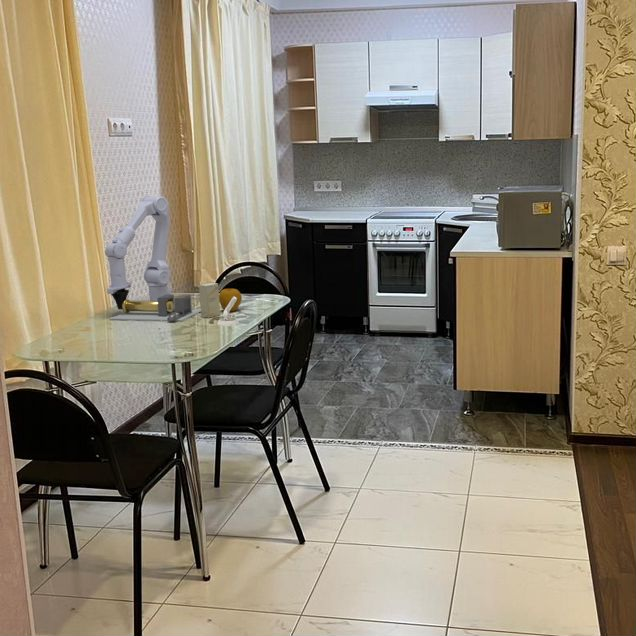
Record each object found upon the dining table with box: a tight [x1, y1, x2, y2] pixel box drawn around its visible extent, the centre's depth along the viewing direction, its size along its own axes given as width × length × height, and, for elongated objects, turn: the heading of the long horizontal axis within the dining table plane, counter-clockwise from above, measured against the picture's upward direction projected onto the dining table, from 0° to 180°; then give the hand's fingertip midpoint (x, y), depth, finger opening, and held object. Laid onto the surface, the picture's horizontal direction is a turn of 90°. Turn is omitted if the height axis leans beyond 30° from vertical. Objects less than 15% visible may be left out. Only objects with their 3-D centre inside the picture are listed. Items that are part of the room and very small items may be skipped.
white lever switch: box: [217, 296, 240, 327], centre depth 293 cm, size 8×12×7 cm
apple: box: [219, 288, 243, 313], centre depth 316 cm, size 8×8×9 cm
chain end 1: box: [157, 293, 175, 317], centre depth 316 cm, size 15×3×7 cm, turn 163°
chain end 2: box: [167, 294, 193, 322], centre depth 307 cm, size 15×3×7 cm, turn 163°
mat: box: [108, 309, 201, 322], centre depth 314 cm, size 18×30×1 cm, turn 73°
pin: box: [122, 298, 174, 313], centre depth 314 cm, size 5×19×5 cm, turn 73°
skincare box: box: [198, 282, 221, 319], centre depth 308 cm, size 6×4×12 cm
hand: (121, 309), depth 318 cm, fingers closed, pressing on pin
